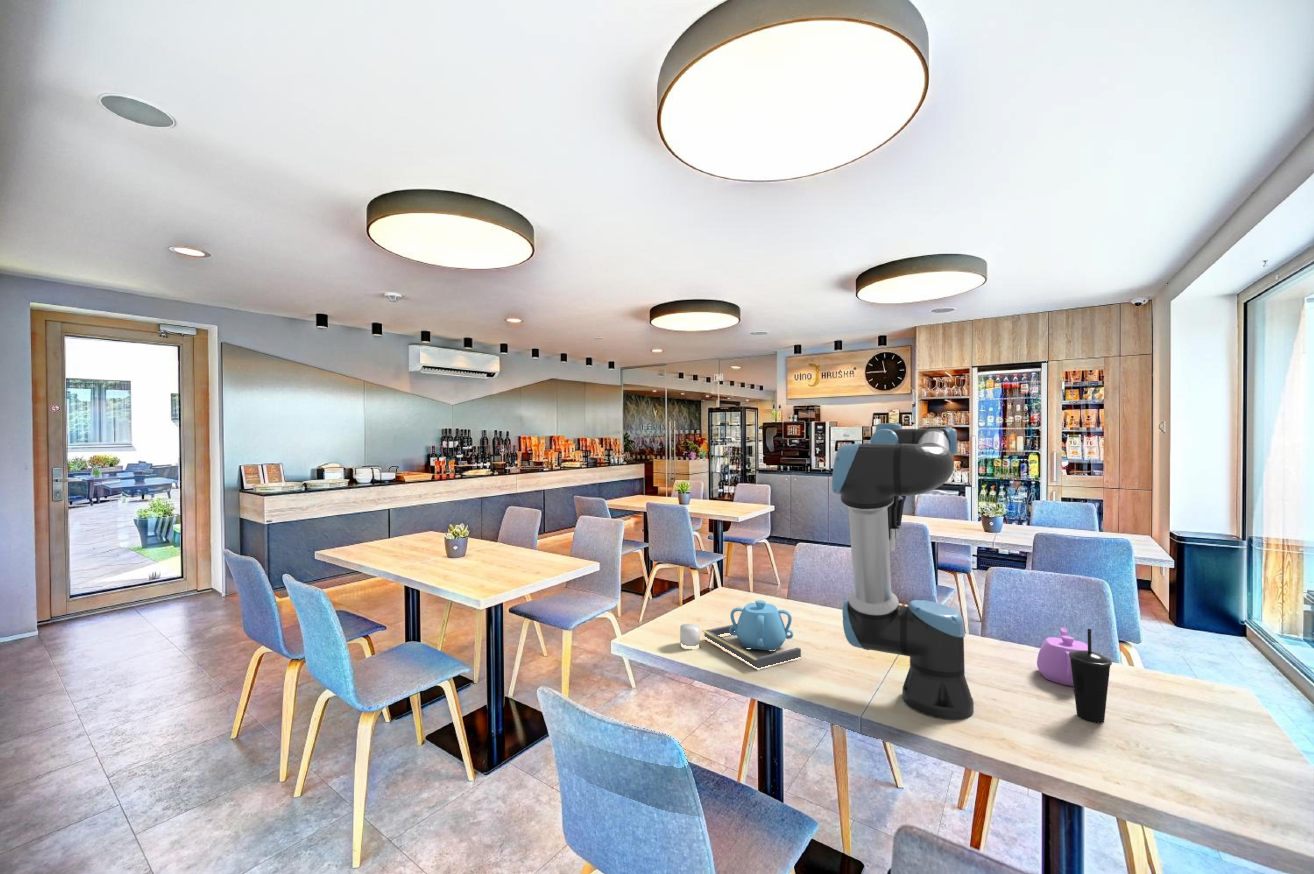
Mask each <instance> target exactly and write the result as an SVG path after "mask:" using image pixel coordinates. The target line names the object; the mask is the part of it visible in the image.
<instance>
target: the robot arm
mask: <svg viewBox="0 0 1314 874" xmlns="http://www.w3.org/2000/svg"><path fill="white" fill-rule="evenodd" d="M957 434H958V433H957V430H956V429H955V428H950V427H949V428H947V427H946V428H945V427H940V428H939V427H938V428H903V427H902V425H901V423H898V422H897V423H896V422H887V423H886V422H885V423H878V424H875V431H874V433H873V434H871V437H870V442H869V443H849V444H843V445H841V446H839V447H838V449H837V451H836V454H835V457H834V462H833V467H832V468H833V469H832V477H831V478H832V479H831V489H832V493H834V494H835V495H840V501H841V504H842V505H844V506H845V507H846V508H848V519H849V520H848V522H849V534H850V535H849V537H850V551H851V562H852V564H851V567H852V576H853V577H852V578H853V579H852V580H853V591H851V592H850V593H849V596H848V598H846V599H845V600H844V601H843V604H842V627H843V631H844V636H845V638H846V641H847V642H848V644H850V646H852V647H854V648H858V649H863V650H866V651H875V652H876V651H877V652H881V653H888V654H894V655H900V656H905V657H909V669H908V671H907V675H906V677H905V680H904V682H903V685H902V689H901V690H902V692H901V694H902V698H901V699H902V700H903V702H904V703H905V705H907V706H908V707H910V708H911V709H912V710H914V711H916V712H919V713H920V714H923V715H926V716H930V717H933V718H936V719H937V718H938V719H944V720H962V719H967V718H969V717H971V716H973V714H974V712H975V711H974V710H975V707H974V706H975V705H974V704H975V703H974V699H973V697H972V694H971V691H970V690H971V689H970V688H969V684H968V682H967V679H966V676H965V675H966V671H965V639H964V638H965V637H966V632H965V626H964V618H963V616H962V615H961V614H960V613H959V612H958V611H957V610H956V609H953V608H951V607H950V606H948V605H945V604H942V603H940V602H936V601H931V600H926V599H921V600H919V599H914V600H911V601H909V604H908V605H907V606H906V605H901V604H899V603H900V602H899V601H900V600H899V598H898V597H897V595H896V594H895V593H894V592H893V591H892V577H891V575H892V574H891V573H892V572H891V557H890V555H891V554H890V553H891V552H894V551H896V537H897V534H896V533H897V530H899V529H900V527H901V525H902V521H903V519H902V518H903V513H904V505H905V501H906V499H907V497H911V496H913V497H914V496H919V495H923V494H926V493H929V492H931V491H933V490H936V489H938V488H939V487H941V486H943V485H944V484H945V483H946V482H948V480H950V478H951V477H952V475H953V472H954V469H955V460H954V459H955V458H954V457H953V455H954V456H955V455H956V454H957V453H958V437H957V436H958V435H957Z"/></svg>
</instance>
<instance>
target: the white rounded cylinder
mask: <svg viewBox="0 0 1314 874" xmlns="http://www.w3.org/2000/svg"><path fill="white" fill-rule="evenodd" d="M700 629H701V628H700V625H698V624H695V623H684V624H681V625H680V627H679V641H680V642H679V644H680V643H682V644H683V645H686V646H696V645H698V644H699V643H700V644H701V641H700V640H701V639H700V636H701V635H700V634H701V632H700V631H701V630H700Z"/></svg>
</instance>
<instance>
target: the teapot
mask: <svg viewBox="0 0 1314 874" xmlns="http://www.w3.org/2000/svg"><path fill="white" fill-rule="evenodd" d="M1079 650H1087V651H1088V643H1085V642H1083V641H1079V640H1075V638H1074V637H1072V636H1068V629H1067V628H1066V627H1063V626H1062V627H1061V628H1060V635H1059V637H1055V636H1054V637H1047V638H1046V639H1045V640H1044V641H1043V643H1042V645H1041V646H1040V648H1039V651H1038V653H1037V654H1038V655H1037V658H1036V665H1037V669H1038V671H1039V672H1040V674H1041V675H1042V677H1043V678H1045V680H1048V681H1050V682H1054V683H1057V684H1060V685H1065V686H1069V687H1074V686H1073V677H1072V669H1071V660H1070V657H1069V652H1072V651H1079Z"/></svg>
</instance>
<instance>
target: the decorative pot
mask: <svg viewBox="0 0 1314 874" xmlns="http://www.w3.org/2000/svg"><path fill="white" fill-rule="evenodd" d="M736 612H740V615H739V618H738V621H737V623H736V620H735V613H736ZM781 614H783V615H786V616H787V618H788V620H787V623H786V626H785V623H784V620H783V617H782V615H781ZM792 618H793V617H792V614H791V613H790V612H789V611H787V610H785V609H778V607H777V606H776V605H774V604H771V603H767V601H766V600H761V599H758V600H756V601H754V602H750V603H747V604H746V605H744V607H739V606H738V607H735V608H733V609H732V610H731V611H730V620H731V623H732V625H733V626H731V627H730V629H729V632H730V634H731V635H733V636H736V637H737V640H738V641H739V643H740V644H741V646H743V647H744V648H745V649H746V648H751V649H754V650H761V651H763V650H764V651H768V650H775V649H776V650H777V649H780V648H781V647H782V645H783V644H784V642H785V641H786V639H787V640H791V639H792V638H793V637H794V631H792V630H791V629H790V628H791V624H792V622H793V621H792V620H793V619H792ZM736 624H737V625H736ZM732 629H735V632H733V631H732ZM788 633H789V634H788Z"/></svg>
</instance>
